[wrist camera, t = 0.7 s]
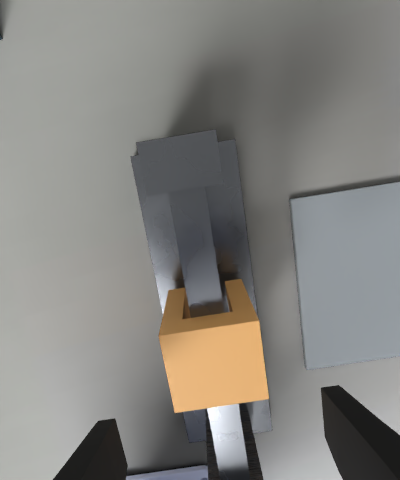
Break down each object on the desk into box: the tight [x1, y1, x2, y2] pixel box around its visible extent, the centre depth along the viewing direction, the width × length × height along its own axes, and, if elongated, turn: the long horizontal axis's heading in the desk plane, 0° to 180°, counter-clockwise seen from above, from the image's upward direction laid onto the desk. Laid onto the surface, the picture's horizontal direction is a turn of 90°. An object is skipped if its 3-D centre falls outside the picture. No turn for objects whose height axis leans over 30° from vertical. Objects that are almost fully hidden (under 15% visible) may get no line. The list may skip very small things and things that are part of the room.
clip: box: [159, 279, 269, 413], centre depth 16 cm, size 4×4×5 cm
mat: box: [289, 181, 400, 370], centre depth 20 cm, size 12×10×1 cm
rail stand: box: [130, 129, 272, 480], centre depth 17 cm, size 20×6×7 cm, turn 9°
